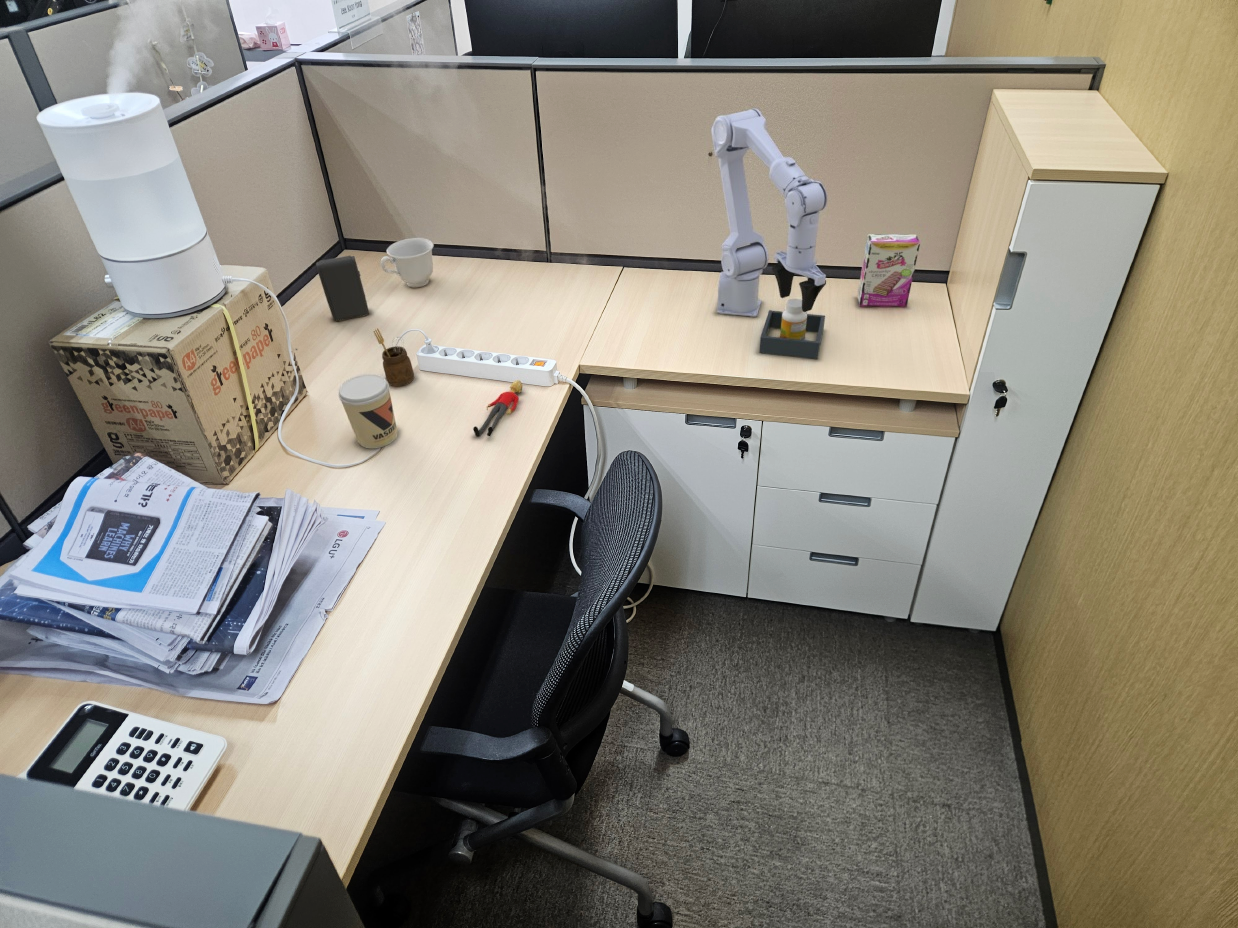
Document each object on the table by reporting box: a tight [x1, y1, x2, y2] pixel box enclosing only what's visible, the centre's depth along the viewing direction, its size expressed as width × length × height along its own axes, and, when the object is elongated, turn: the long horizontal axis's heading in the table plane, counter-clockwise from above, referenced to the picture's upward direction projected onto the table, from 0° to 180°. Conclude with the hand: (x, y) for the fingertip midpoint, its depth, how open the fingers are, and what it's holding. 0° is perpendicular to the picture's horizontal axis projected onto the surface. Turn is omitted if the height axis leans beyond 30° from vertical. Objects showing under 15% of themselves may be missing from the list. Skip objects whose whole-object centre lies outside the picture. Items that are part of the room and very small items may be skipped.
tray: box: [758, 309, 826, 360], centre depth 176 cm, size 13×13×4 cm
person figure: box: [472, 379, 523, 438], centre depth 160 cm, size 5×4×18 cm
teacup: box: [380, 237, 435, 288], centre depth 207 cm, size 12×15×10 cm
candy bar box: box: [856, 233, 921, 308], centre depth 184 cm, size 11×5×16 cm, turn 84°
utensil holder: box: [373, 327, 415, 387], centre depth 169 cm, size 6×6×12 cm
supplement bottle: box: [779, 298, 808, 340], centre depth 174 cm, size 5×5×10 cm
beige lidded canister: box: [338, 373, 398, 450], centre depth 153 cm, size 9×9×12 cm
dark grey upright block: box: [315, 255, 370, 322], centre depth 193 cm, size 9×4×15 cm, turn 108°
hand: (795, 303), depth 171 cm, fingers open, 7 cm apart
